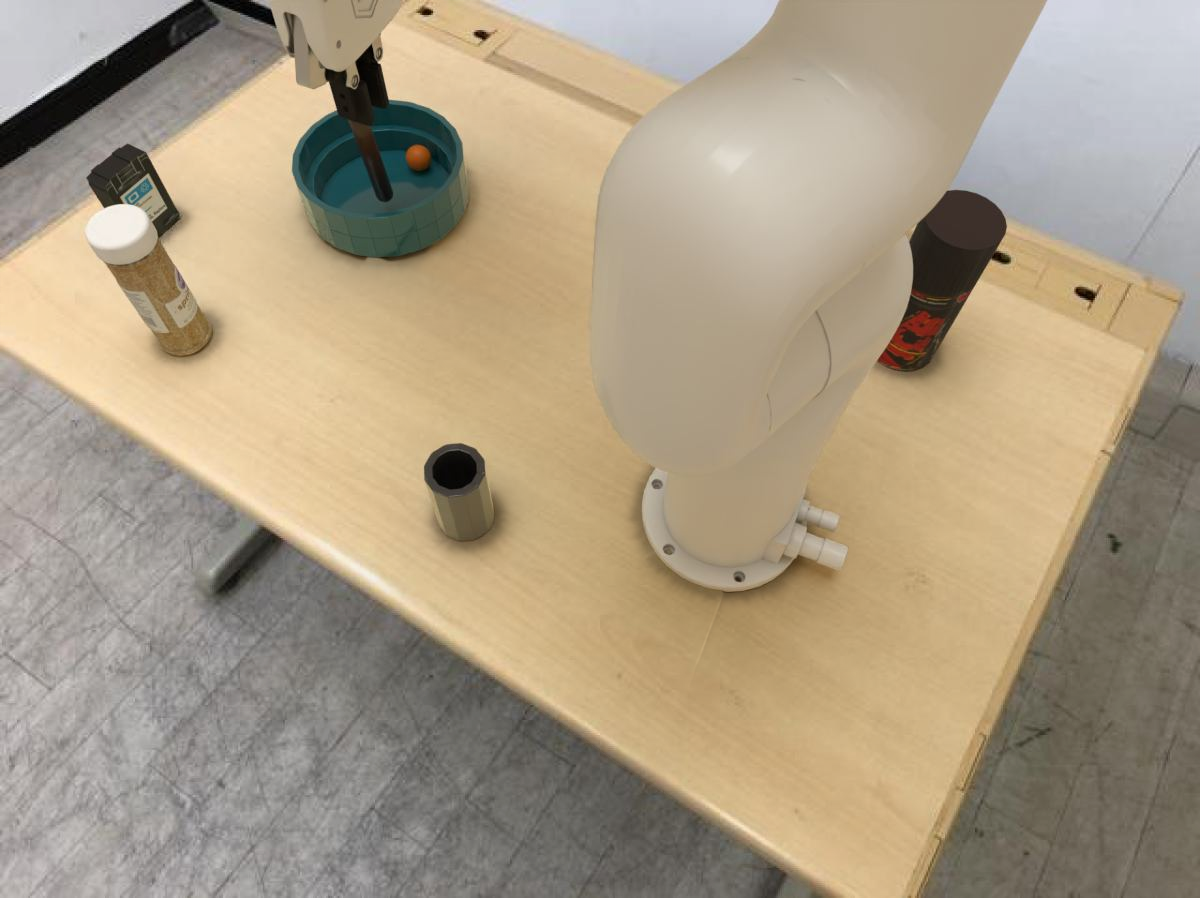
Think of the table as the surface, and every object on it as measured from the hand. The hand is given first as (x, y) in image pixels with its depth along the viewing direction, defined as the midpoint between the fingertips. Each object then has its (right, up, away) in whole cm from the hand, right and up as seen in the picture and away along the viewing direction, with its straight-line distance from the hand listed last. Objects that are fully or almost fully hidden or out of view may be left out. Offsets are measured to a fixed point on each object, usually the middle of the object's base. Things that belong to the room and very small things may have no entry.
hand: (364, 109), depth 73 cm
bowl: (-1, -4, +11) cm, 12 cm away
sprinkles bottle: (-16, -18, +3) cm, 25 cm away
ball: (+2, 0, +12) cm, 12 cm away
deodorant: (+46, -19, +4) cm, 50 cm away
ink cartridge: (-22, -8, +9) cm, 25 cm away
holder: (+9, -33, -5) cm, 35 cm away
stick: (0, -5, +9) cm, 10 cm away
